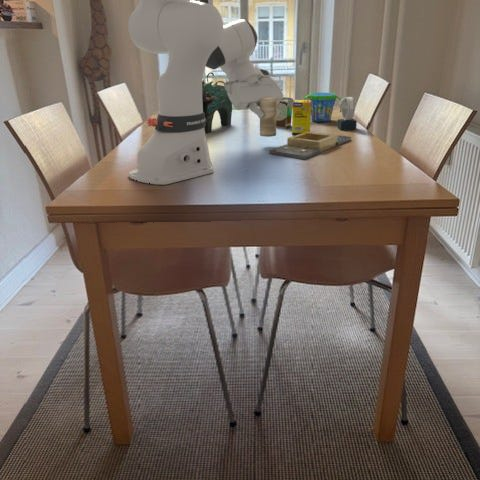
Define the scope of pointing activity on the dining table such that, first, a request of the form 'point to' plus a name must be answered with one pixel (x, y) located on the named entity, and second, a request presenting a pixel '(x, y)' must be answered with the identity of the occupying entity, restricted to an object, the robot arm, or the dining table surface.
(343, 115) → the watch
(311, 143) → the hinge
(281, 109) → the food container
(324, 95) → the snack cup
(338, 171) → the dining table surface
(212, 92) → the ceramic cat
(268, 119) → the hinge pin
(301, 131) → the supplement box
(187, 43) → the robot arm
